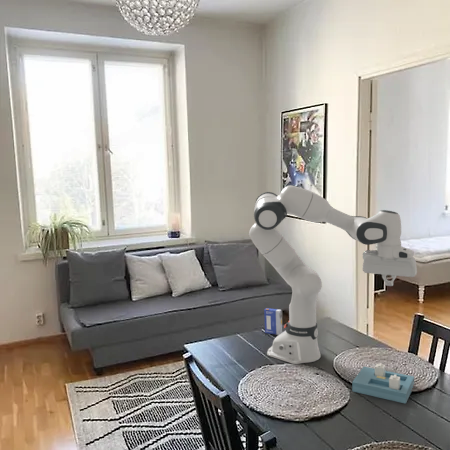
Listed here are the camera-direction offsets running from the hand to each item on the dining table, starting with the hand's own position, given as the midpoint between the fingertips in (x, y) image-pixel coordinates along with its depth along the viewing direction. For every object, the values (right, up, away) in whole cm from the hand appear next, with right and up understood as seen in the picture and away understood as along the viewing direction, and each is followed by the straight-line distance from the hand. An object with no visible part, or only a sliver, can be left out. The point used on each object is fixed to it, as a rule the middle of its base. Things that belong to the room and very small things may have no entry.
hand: (389, 285), depth 183 cm
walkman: (-42, -28, +39) cm, 64 cm away
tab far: (-9, -32, -15) cm, 36 cm away
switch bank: (-9, -34, -19) cm, 40 cm away
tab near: (-7, -33, -24) cm, 41 cm away
